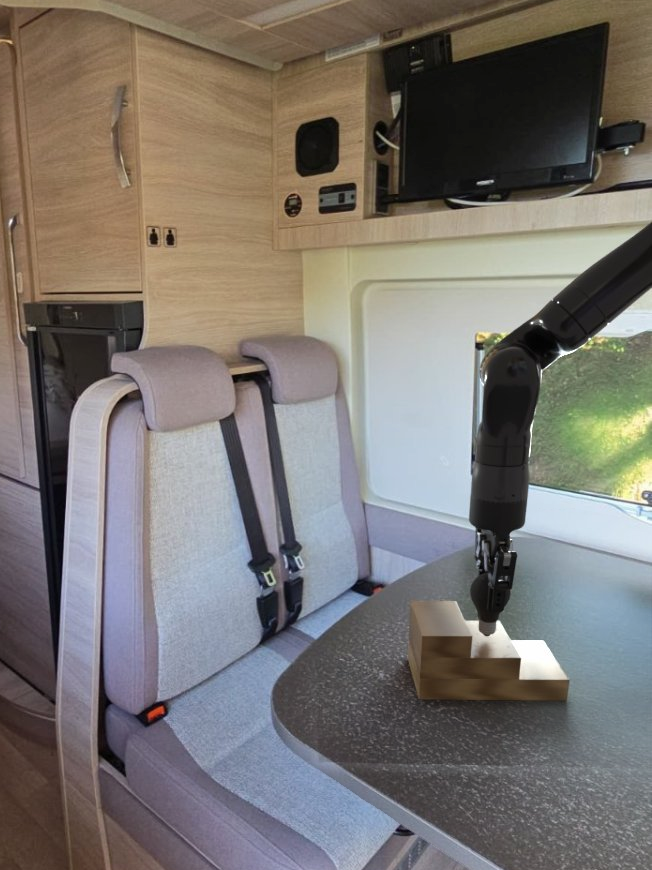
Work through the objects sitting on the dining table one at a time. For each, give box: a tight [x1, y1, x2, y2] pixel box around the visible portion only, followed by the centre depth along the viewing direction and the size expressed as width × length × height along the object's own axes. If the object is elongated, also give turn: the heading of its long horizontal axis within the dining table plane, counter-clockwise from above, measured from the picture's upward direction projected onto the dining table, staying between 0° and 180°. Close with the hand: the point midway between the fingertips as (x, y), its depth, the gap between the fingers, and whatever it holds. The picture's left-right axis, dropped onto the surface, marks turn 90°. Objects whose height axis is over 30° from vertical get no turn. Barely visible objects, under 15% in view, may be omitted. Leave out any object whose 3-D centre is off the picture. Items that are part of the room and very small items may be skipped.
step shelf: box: [407, 600, 570, 702], centre depth 109 cm, size 21×12×10 cm, turn 85°
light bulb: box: [469, 573, 512, 636], centre depth 106 cm, size 6×6×10 cm
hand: (489, 601), depth 106 cm, fingers closed on light bulb, 5 cm apart
